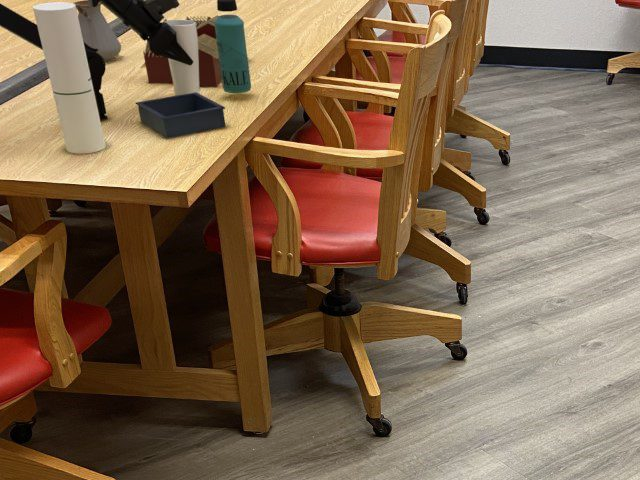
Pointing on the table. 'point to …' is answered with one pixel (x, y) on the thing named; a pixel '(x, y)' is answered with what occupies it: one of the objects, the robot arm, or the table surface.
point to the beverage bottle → (232, 49)
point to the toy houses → (206, 50)
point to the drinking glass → (187, 38)
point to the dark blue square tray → (181, 114)
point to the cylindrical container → (69, 76)
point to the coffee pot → (97, 31)
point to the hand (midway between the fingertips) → (189, 59)
